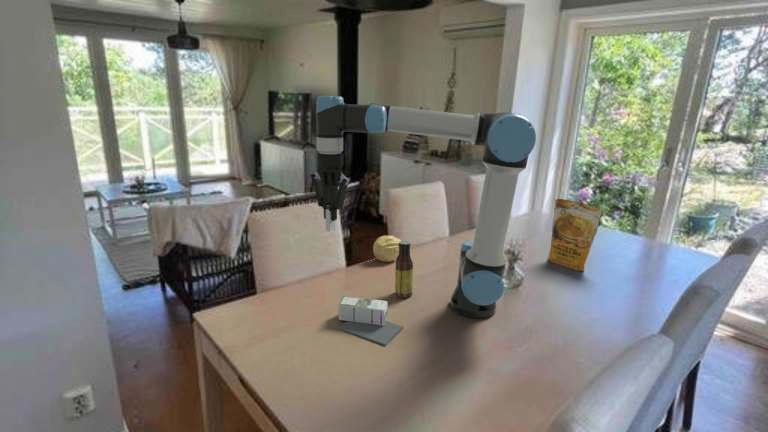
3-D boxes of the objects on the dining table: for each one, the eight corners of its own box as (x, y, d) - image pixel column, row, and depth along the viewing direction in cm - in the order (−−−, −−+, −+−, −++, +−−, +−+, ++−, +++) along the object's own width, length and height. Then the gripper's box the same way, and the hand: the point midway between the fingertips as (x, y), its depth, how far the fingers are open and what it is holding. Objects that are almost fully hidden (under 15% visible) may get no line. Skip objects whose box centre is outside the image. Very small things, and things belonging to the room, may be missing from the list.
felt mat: (403, 328, 124) (403, 326, 124) (385, 346, 115) (385, 344, 115) (359, 313, 132) (359, 311, 132) (339, 329, 123) (339, 327, 122)
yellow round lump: (379, 266, 168) (380, 241, 165) (369, 255, 179) (369, 232, 176) (404, 262, 173) (405, 238, 170) (392, 252, 183) (393, 229, 180)
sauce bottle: (414, 292, 147) (418, 241, 141) (408, 300, 141) (411, 246, 136) (398, 288, 149) (400, 238, 144) (391, 296, 144) (393, 243, 138)
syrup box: (338, 320, 126) (384, 327, 124) (338, 303, 124) (384, 310, 122) (343, 311, 132) (387, 317, 129) (343, 294, 130) (388, 300, 127)
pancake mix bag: (549, 256, 186) (559, 196, 178) (591, 270, 172) (604, 206, 164) (541, 259, 182) (551, 198, 174) (584, 274, 168) (597, 209, 160)
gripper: (356, 152, 116) (355, 230, 123) (320, 148, 122) (321, 223, 129) (341, 155, 110) (341, 237, 117) (303, 151, 116) (305, 229, 123)
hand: (330, 230), depth 123 cm, fingers closed
